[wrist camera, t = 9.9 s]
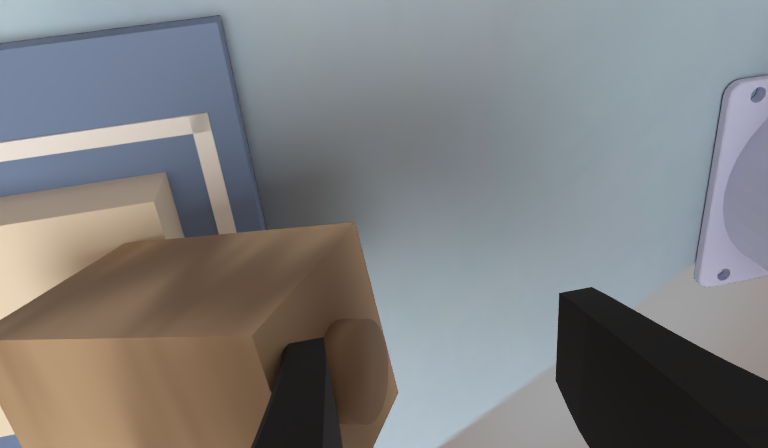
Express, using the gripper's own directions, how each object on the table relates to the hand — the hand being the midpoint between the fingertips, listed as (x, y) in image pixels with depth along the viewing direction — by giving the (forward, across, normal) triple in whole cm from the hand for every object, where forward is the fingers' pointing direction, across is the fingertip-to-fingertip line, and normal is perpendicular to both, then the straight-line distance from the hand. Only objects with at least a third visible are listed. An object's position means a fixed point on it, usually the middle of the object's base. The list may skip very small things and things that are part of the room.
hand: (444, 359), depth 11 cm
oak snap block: (+4, +8, +2) cm, 9 cm away
